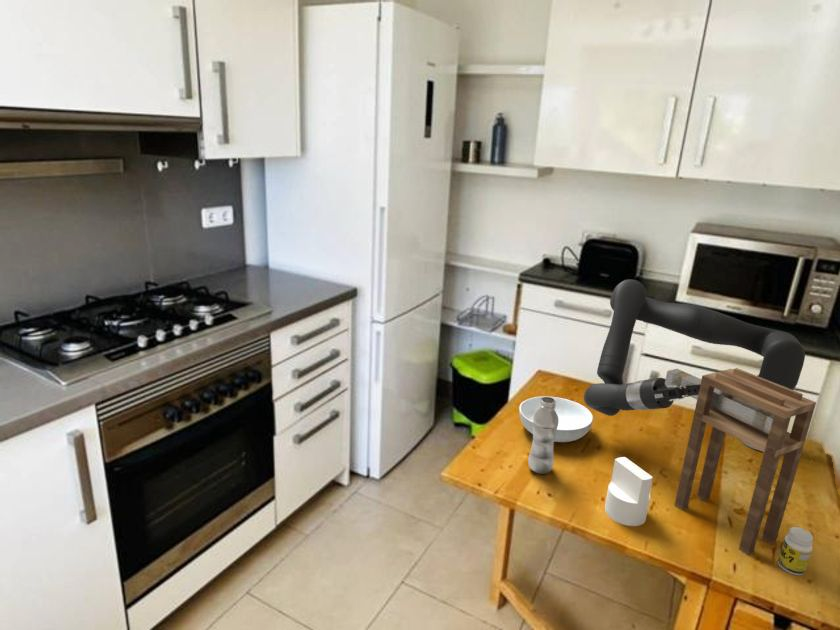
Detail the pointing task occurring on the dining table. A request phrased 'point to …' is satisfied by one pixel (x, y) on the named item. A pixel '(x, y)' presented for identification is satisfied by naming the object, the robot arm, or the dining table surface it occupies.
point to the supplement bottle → (796, 551)
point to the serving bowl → (560, 418)
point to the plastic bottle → (543, 436)
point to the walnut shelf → (772, 444)
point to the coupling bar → (726, 402)
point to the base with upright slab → (628, 493)
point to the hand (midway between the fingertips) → (709, 387)
